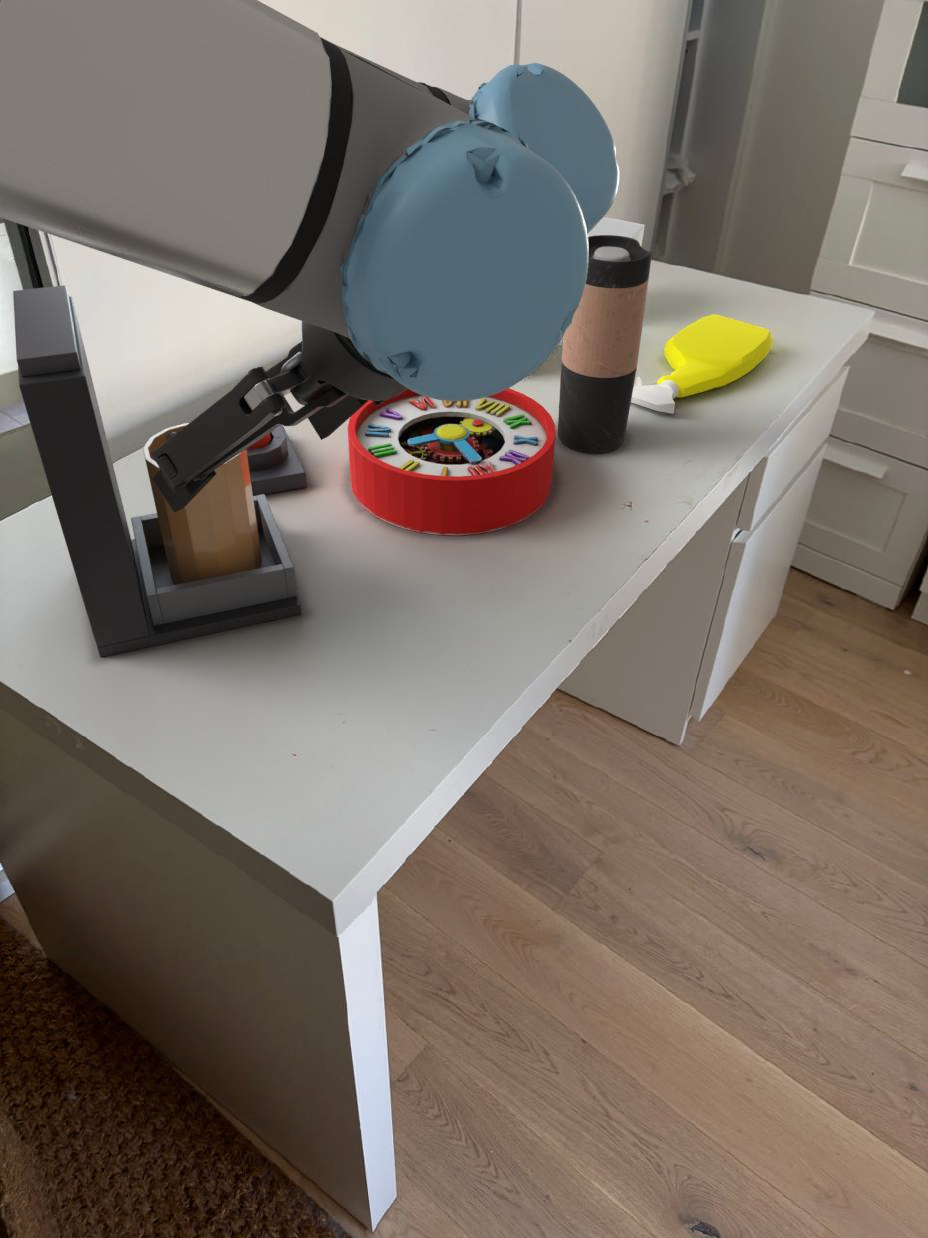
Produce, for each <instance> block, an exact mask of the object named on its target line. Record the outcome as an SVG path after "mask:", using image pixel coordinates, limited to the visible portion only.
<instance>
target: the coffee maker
mask: <svg viewBox="0 0 928 1238" xmlns="http://www.w3.org/2000/svg"><path fill="white" fill-rule="evenodd" d="M12 297H13V319H14V335H15V336H14V337H15V338H14V339H15V356H16V357H15V358H16V363H17V370H18V371H17V376H18V387H19V390H20V394H21V397H22V401H23V403H24V407H25V410H26V414H27V417H28V420H29V424H30V426H31V431H32V434H33V437H34V441H35V444H36V447H37V451H38V454H39V457H40V460H41V464H42V467H43V470H44V474H45V479H46V481H47V485H48V488H49V491H50V494H51V498H52V502H53V504H54V508H55V511H56V514H57V518H58V521H59V525H60V528H61V531H62V535H63V538H64V541H65V545H66V547H67V548H66V549H67V551H68V555H69V558H70V562H71V565H72V568H73V571H74V575H75V579H76V581H77V585H78V588H79V591H80V595H81V598H82V602H83V606H84V608H85V612H86V615H87V618H88V621H89V626H90V629H91V632H92V635H93V639H94V642H95V646H96V648H97V652H98V655H99V658H103V657H108V656H113V655H117V654H122V653H126V652H131V651H134V650H141V649H146V648H149V647H154V646H160V645H163V644H168V643H173V642H177V641H178V642H179V641H182V640H183V641H184V640H187V639H191V638H196V637H200V636H205V635H210V634H215V633H216V634H217V633H220V632H224V631H228V630H234V629H238V628H243V627H247V626H252V625H257V624H261V623H267V622H272V621H275V620H281V619H285V618H289V617H295V616H299V615H302V614H303V613H302V604H301V602H300V599H299V597H298V590H297V581H296V572H295V567H294V564H293V562H292V558H291V557H290V553H289V551H288V549H287V546H286V544H285V541H284V539H283V536H282V534H281V532H280V529H279V527H278V524H277V521H276V519H275V517H274V514H273V512H272V509H271V506H270V503H269V502H268V499H267V497H266V494H262V495H257V496H253V501H254V508H255V515H256V522H257V529H258V536H259V543H260V550H261V557H262V568H259V569H254V570H249V571H244V572H239V573H233V574H228V575H223V576H218V577H213V578H208V579H203V580H198V581H193V582H188V583H183V584H178V585H174V583H173V582H172V579H171V575H170V571H169V566H168V562H167V557H166V553H165V548H164V544H163V539H162V534H161V530H160V525H159V521H158V516H157V512H156V513H149V514H144V515H138V516H132V517H130V521H131V526H132V530H133V531H132V532H133V536H134V538H132V536H131V533H130V532H131V531H130V527H129V524H128V520H127V517H126V513H125V509H124V504H123V500H122V496H121V492H120V487H119V484H118V480H117V475H116V471H115V467H114V464H113V459H112V454H111V451H110V446H109V442H108V439H107V438H108V437H107V434H106V431H105V427H104V422H103V417H102V414H101V411H100V406H99V402H98V398H97V394H96V390H95V385H94V381H93V377H92V373H91V368H90V365H89V361H88V356H87V353H86V349H85V344H84V341H83V337H82V332H81V328H80V323H79V319H78V316H77V311H76V309H75V308H76V307H75V304H74V299H73V297H72V296H69V293H68V288H67V286H66V285H55V286H46V287H37V288H28V289H19V290H13V291H12Z"/></svg>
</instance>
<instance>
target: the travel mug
mask: <svg viewBox="0 0 928 1238" xmlns="http://www.w3.org/2000/svg"><path fill="white" fill-rule="evenodd" d="M588 244H589V255H588V271H587V279H586V283H585V288H584V292H583V296H582V298H581V301H580V304H579V306H578V308H577V310H576V311H575V313H574V315H573V319H572V323H571V324H570V325H569V327H568V328H567V329H566V331H565V333H564V335H563V343H562V352H561V362H560V364H561V365H560V366H561V367H560V380H559V381H560V383H559V401H558V417H557V419H558V420H557V423H558V424H557V438H558V440H559V441H560V443H561V444H562V445H563V446H565V447H566V448H569V449H571V450H573V451H575V452H580V453H583V454H584V453H585V454H605V453H606V454H607V453H610V452H614V451H616V450H617V449H618V448H621V446H622V445H623V443H624V441H625V438H626V437H625V436H626V431H627V426H628V421H629V414H630V409H631V403H632V402H631V398H632V393H633V387H634V386H635V381H636V376H637V375H636V374H637V370H638V364H639V363H638V362H639V354H640V347H641V340H642V332H643V326H644V325H643V324H644V319H645V309H646V303H647V295H648V288H649V279H650V272H651V265H652V257H653V249H652V248H651V249H650V250H646V249H645V248H644V247H642V245H641V246H640V243H639V242H638V241H637V240H635V239H633V238H629V237H624V236H615V235H597V236H590V237H588Z"/></svg>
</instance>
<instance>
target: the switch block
mask: <svg viewBox="0 0 928 1238" xmlns="http://www.w3.org/2000/svg"><path fill="white" fill-rule="evenodd" d="M270 437H271V441H270V443H269V444H268V445H266V446H264V447H262V448H256V449H246V451H247V458H248V465H249V472H250V479H251V487H252V494H253V496H257V495H262V494H265V495H269V494H274V493H281V492H286V491H292V490H297V489H304V488H307V486H308V485H307V477H306V476H307V474H306V471H305V469H304V466H303V465H302V463H301V460H300V458H299V456H298V454H297V451H296V450H295V448H294V446H293V444H292V441H291V440H290V437H289V435H288V434H287V430H286V428H285V426H283V425H281V426H279V427H278V428H276V429H275V430H273V431H272V432H270Z"/></svg>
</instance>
